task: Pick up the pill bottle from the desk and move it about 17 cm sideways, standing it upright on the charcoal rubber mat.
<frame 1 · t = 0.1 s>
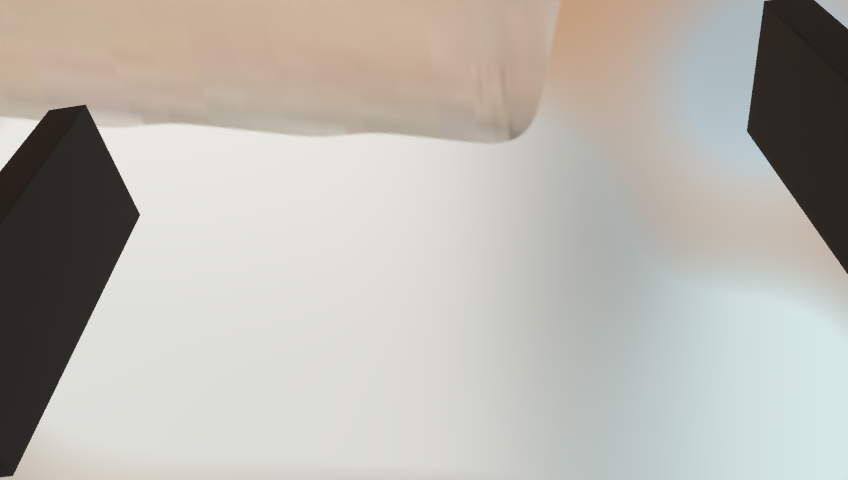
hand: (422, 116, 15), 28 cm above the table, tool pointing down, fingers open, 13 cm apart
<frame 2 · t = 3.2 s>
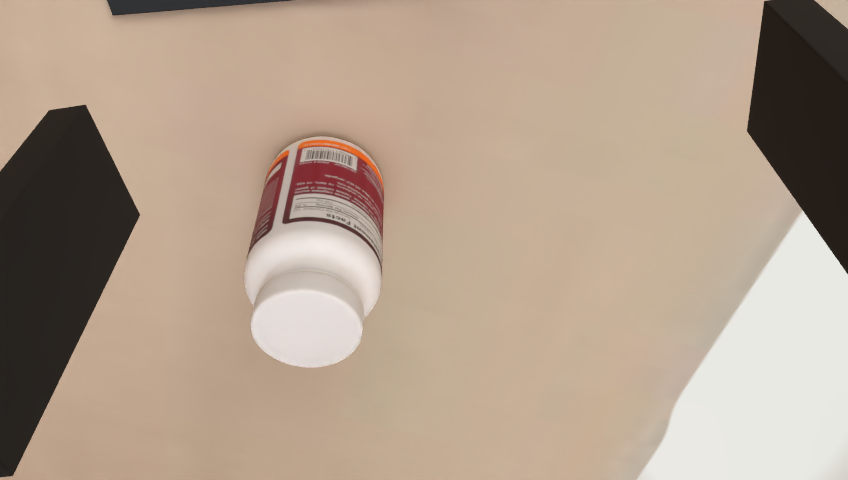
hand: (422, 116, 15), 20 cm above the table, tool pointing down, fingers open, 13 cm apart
pill bottle: (327, 179, 39), on the table
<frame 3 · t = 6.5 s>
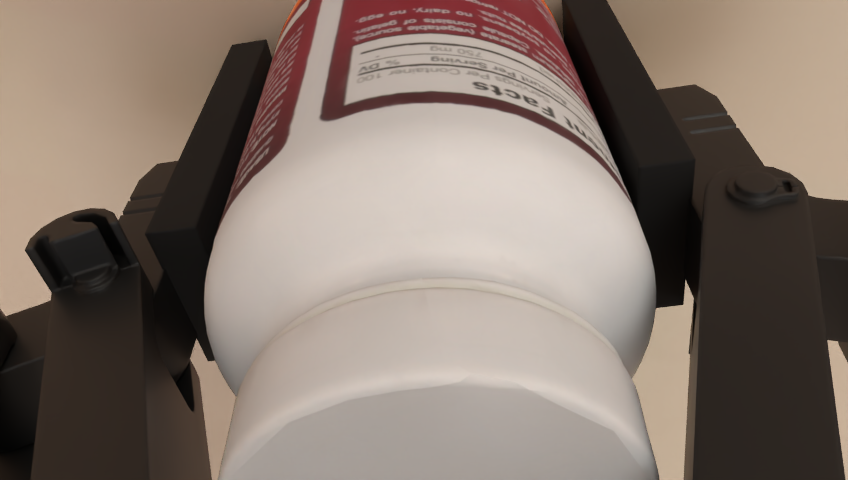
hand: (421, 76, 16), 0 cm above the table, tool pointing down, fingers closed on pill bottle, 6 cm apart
pill bottle: (421, 64, 17), on the table, touching gripper
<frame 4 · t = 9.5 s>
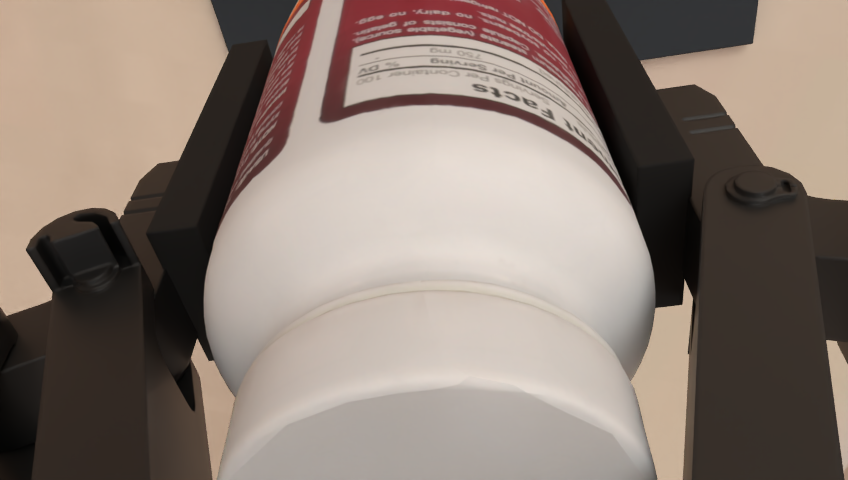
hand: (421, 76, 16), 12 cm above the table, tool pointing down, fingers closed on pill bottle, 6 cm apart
pill bottle: (422, 65, 17), point 12 cm above the table, touching gripper
when the fingers open (1 cm above the table, at t = 12.5 s): pill bottle stays where it is, resting on mat.
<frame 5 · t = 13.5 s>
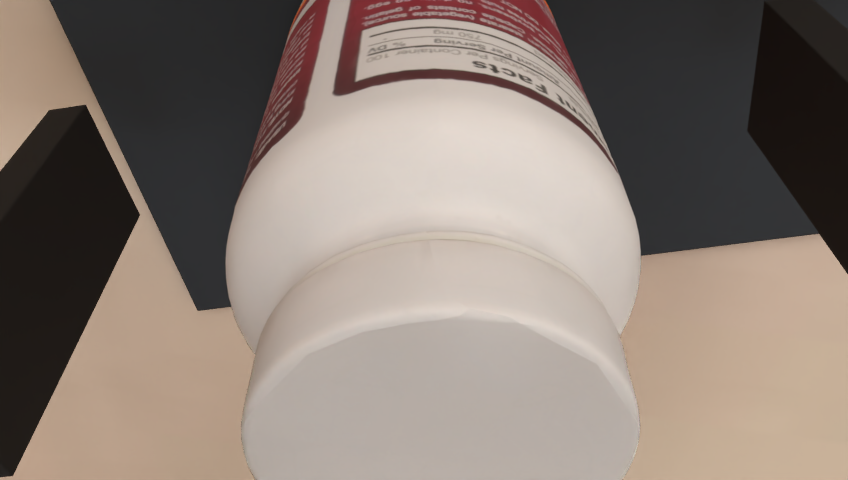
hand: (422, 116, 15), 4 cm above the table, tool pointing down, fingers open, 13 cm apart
pill bottle: (424, 54, 17), resting on mat
mat: (507, 36, 17), on the table
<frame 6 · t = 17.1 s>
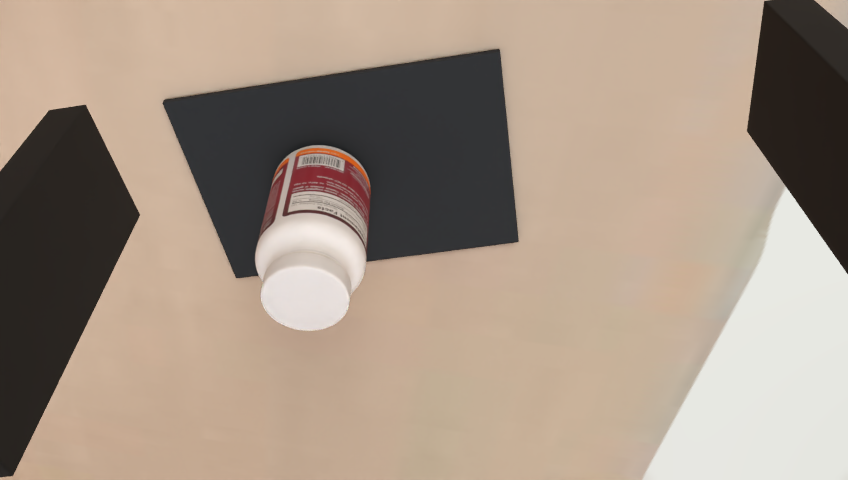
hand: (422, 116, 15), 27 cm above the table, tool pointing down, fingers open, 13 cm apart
pill bottle: (323, 180, 47), resting on mat
mat: (353, 174, 47), on the table
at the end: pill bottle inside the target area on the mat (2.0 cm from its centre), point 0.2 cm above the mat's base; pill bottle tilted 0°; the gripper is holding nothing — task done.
